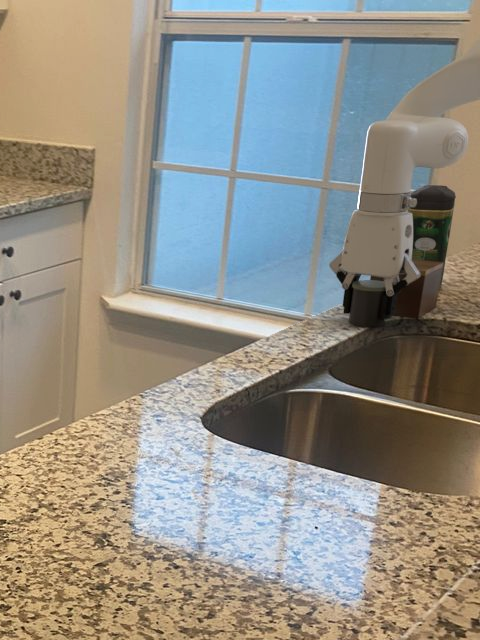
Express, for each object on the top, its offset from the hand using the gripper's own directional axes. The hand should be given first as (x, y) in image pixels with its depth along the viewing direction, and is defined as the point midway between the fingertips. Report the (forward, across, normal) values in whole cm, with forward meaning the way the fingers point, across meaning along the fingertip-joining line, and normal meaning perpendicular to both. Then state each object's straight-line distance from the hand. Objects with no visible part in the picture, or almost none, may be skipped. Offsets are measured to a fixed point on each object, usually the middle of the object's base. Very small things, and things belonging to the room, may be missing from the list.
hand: (367, 314), depth 171 cm
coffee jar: (+2, +5, -31) cm, 32 cm away
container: (+2, 0, 0) cm, 2 cm away
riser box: (+2, 0, -13) cm, 13 cm away
